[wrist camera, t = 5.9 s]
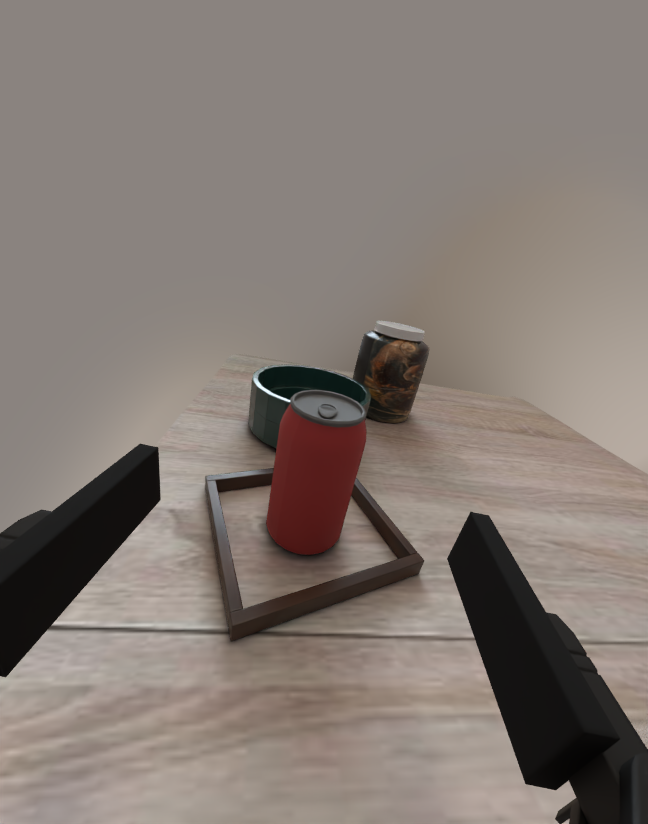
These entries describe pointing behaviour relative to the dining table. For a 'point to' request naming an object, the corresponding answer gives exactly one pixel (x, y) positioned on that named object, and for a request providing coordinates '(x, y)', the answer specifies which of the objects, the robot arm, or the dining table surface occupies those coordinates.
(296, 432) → the beer can
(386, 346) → the jar
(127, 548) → the dining table surface
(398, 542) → the brown square frame
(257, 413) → the green bowl
